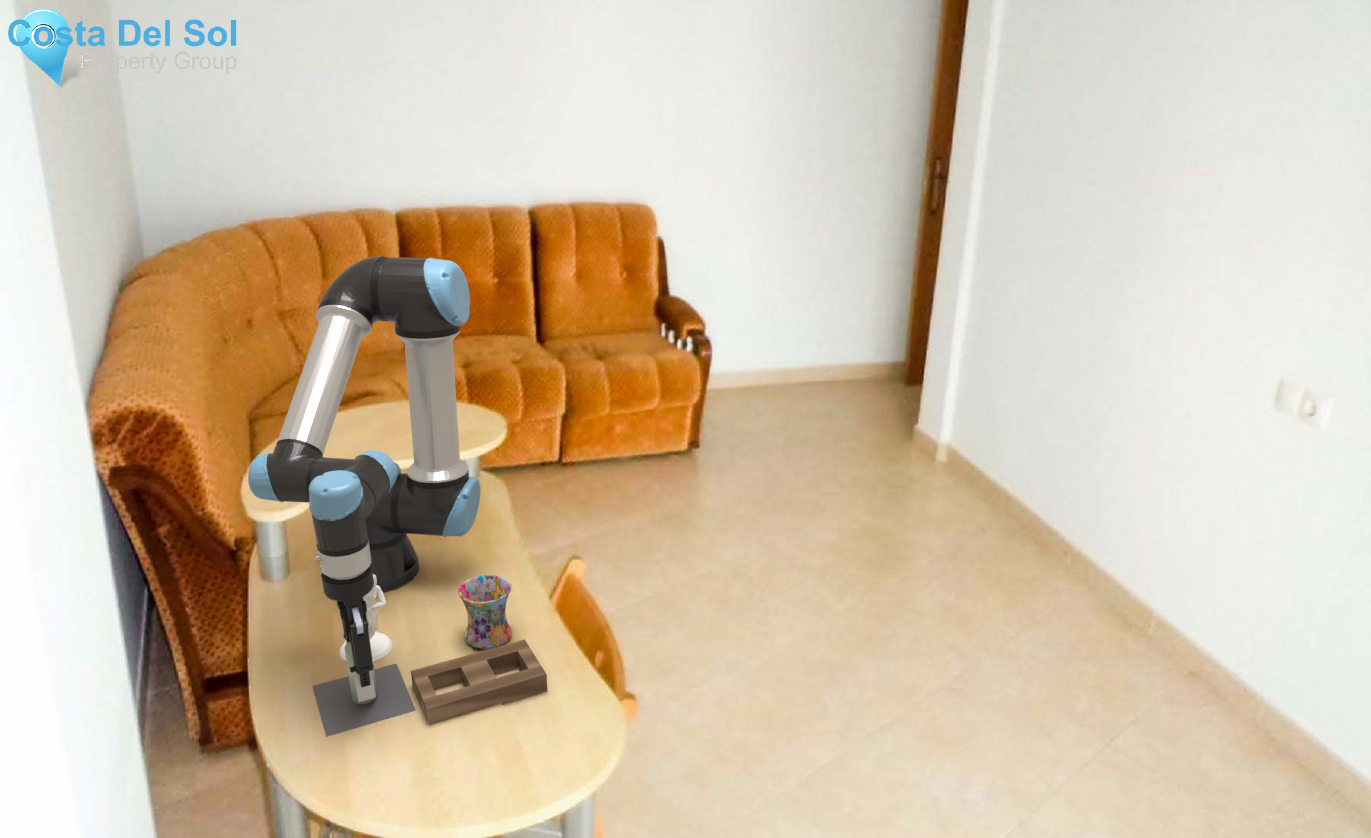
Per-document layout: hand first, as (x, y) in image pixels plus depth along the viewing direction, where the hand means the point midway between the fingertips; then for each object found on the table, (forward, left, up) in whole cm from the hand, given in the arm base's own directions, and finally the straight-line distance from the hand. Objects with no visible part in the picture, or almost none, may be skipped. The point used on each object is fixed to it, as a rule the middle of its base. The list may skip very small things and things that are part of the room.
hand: (363, 689), depth 163 cm
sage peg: (0, 0, -1) cm, 1 cm away
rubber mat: (-1, 0, -2) cm, 3 cm away
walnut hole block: (+5, +18, -2) cm, 19 cm away
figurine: (-15, +3, -3) cm, 15 cm away
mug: (-10, +24, -3) cm, 26 cm away
